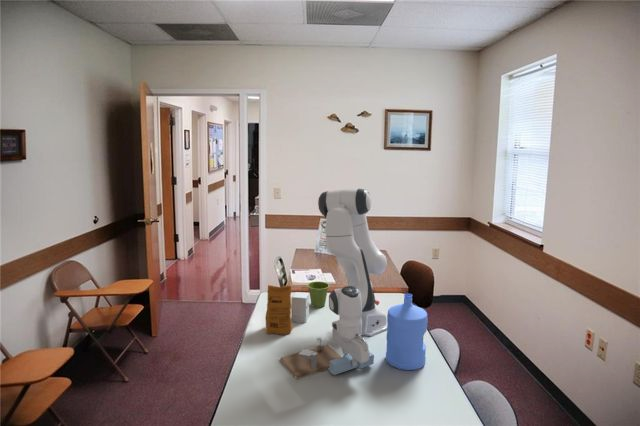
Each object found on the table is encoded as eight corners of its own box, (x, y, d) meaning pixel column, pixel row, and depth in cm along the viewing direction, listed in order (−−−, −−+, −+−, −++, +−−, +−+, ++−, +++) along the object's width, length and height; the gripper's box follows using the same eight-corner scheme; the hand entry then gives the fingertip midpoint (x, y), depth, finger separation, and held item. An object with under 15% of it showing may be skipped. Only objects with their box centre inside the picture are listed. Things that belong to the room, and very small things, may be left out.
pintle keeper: (315, 349, 180) (315, 336, 179) (329, 352, 177) (329, 339, 176) (298, 367, 166) (298, 353, 165) (314, 371, 163) (314, 357, 162)
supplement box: (306, 323, 207) (305, 298, 205) (291, 321, 209) (290, 297, 206) (309, 316, 214) (309, 292, 212) (295, 315, 216) (294, 291, 213)
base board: (327, 347, 184) (327, 344, 184) (346, 363, 171) (346, 360, 171) (280, 360, 174) (280, 357, 174) (296, 378, 161) (296, 375, 161)
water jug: (402, 375, 163) (405, 305, 158) (378, 356, 177) (380, 291, 172) (433, 365, 170) (437, 298, 165) (408, 347, 184) (411, 285, 179)
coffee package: (267, 325, 205) (266, 281, 201) (293, 326, 204) (293, 281, 200) (263, 335, 195) (262, 288, 191) (291, 335, 194) (290, 289, 190)
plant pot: (329, 309, 223) (329, 289, 220) (306, 309, 223) (306, 289, 221) (329, 301, 234) (329, 281, 232) (307, 300, 234) (307, 281, 232)
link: (364, 356, 174) (364, 347, 173) (373, 363, 169) (373, 354, 168) (327, 368, 166) (327, 359, 165) (336, 377, 160) (336, 367, 159)
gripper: (373, 338, 157) (373, 373, 159) (342, 317, 174) (342, 348, 177) (359, 343, 154) (359, 378, 156) (329, 321, 171) (329, 352, 174)
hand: (350, 362), depth 167 cm, fingers closed on link, 3 cm apart
